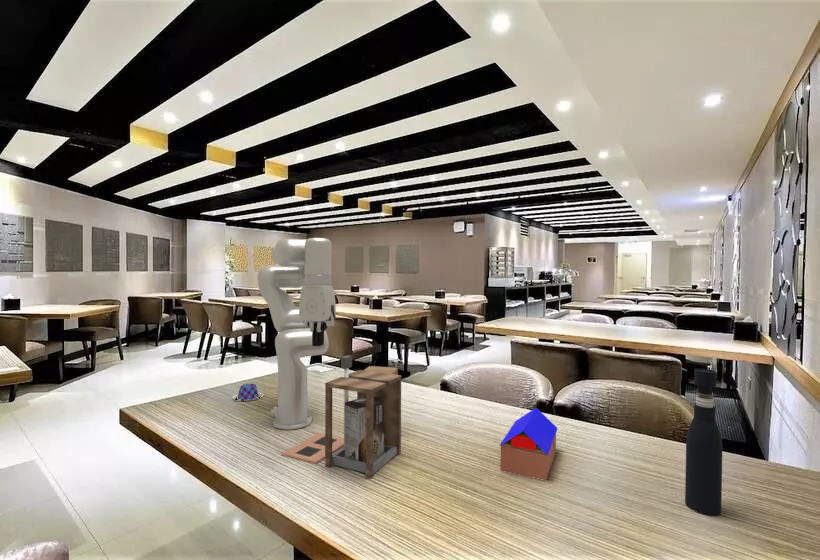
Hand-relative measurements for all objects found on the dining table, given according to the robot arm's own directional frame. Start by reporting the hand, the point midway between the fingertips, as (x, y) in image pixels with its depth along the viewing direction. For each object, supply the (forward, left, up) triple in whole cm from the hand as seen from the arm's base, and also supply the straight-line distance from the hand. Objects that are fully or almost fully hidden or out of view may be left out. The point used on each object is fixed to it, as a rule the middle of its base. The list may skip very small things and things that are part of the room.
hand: (318, 345), depth 116 cm
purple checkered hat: (-56, +26, -30) cm, 69 cm away
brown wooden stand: (+16, 0, -30) cm, 34 cm away
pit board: (0, 0, -30) cm, 30 cm away
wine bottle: (+94, +14, -30) cm, 99 cm away
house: (+56, +21, -30) cm, 67 cm away
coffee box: (+16, 0, -30) cm, 34 cm away
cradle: (+16, 0, -30) cm, 34 cm away
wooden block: (+10, +18, -30) cm, 37 cm away
